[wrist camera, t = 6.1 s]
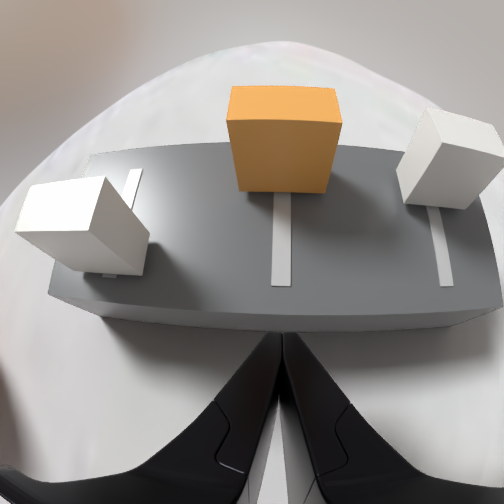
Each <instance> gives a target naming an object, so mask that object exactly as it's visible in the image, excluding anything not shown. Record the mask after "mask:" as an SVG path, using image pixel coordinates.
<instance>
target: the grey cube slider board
mask: <svg viewBox="0 0 504 504" xmlns="http://www.w3.org/2000/svg"><path fill="white" fill-rule="evenodd" d="M404 153H405V152H402V151H394V150H386V149H377V148H368V147H358V146H346V145H337V148H336V152H335V157H334V161H333V165H332V169H331V173H330V177H329V181H328V184H327V188H326V192H325V194H323V193H297V192H240V191H239V188H238V182H237V177H236V171H235V166H234V160H233V155H232V149H231V144H230V142H221V143H198V144H181V145H168V146H156V147H146V148H136V149H128V150H119V151H112V152H105V153H98V154H91V155H90V157H89V160H88V162H87V165H86V167H85V169H84V172H83V174H82V177H81V179H83V178H92V177H101V176H106V178H107V179H108V180H109V182H110V183H111V184H112V186H113V187H114V188H115V190H116V191H117V192H118V194H119V195H120V196H121V197H122V199H123V200H124V201H125V203H126V204H127V205H128V206H129V208H130V209H131V210H132V211H133V213H134V214H135V215H136V216H137V218H138V219H139V220H140V221H141V223H142V224H143V225H144V226H145V228H146V229H147V230H148V231H149V233H150V236H149V241H148V247H147V252H146V257H145V263H144V269H143V274H142V276H137V275H122V274H107V273H93V272H80V271H73V270H71V269H70V268H68V267H66V266H65V265H63V264H62V263H60V262H59V261H57V260H55V263H54V267H53V271H52V276H51V280H50V285H49V290H48V294H49V295H51V296H53V297H55V298H57V299H60V300H62V301H64V302H67V303H69V304H71V305H74V306H76V307H78V308H81V309H83V310H86V311H88V312H91V313H93V314H96V315H98V316H103V317H110V318H117V319H125V320H133V321H141V322H150V323H159V324H169V325H179V326H191V327H203V328H217V329H233V330H253V331H282V332H359V331H387V330H406V329H421V328H434V327H446V326H453V325H456V324H459V323H461V322H464V321H467V320H470V319H473V318H475V317H478V316H481V315H483V314H486V313H489V312H491V311H494V310H496V309H499V308H501V307H503V300H502V293H501V286H500V279H499V274H498V268H497V263H496V258H495V253H494V248H493V244H492V240H491V236H490V232H489V228H488V224H487V220H486V217H485V213H484V210H483V207H482V203H481V200H480V197H479V195H478V197H477V198H476V199H475V200H474V201H473V202H472V203H471V204H470V205H469V206H468V207H467V208H466V209H465V210H463V209H455V208H446V207H436V206H426V205H415V204H404V203H403V198H402V193H401V189H400V185H399V180H398V176H397V172H396V169H397V167H398V165H399V163H400V161H401V159H402V157H403V155H404Z"/></svg>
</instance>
